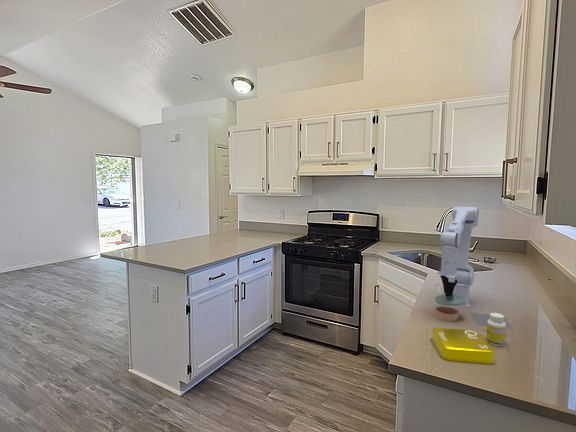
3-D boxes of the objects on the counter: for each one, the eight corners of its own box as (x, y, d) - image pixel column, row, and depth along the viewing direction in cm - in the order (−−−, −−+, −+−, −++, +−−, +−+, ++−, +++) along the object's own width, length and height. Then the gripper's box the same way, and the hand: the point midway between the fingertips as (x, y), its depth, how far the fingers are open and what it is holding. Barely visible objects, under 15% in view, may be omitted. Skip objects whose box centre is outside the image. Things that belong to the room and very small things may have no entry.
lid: (434, 296, 136) (432, 282, 136) (463, 296, 132) (462, 282, 132) (436, 305, 126) (435, 290, 125) (468, 306, 122) (466, 290, 121)
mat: (470, 314, 133) (470, 312, 133) (503, 317, 129) (503, 316, 129) (476, 325, 122) (476, 324, 122) (513, 330, 118) (513, 328, 118)
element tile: (430, 338, 113) (430, 325, 113) (476, 342, 110) (477, 328, 110) (442, 361, 98) (443, 346, 98) (496, 366, 96) (497, 350, 95)
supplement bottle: (487, 337, 113) (488, 310, 112) (506, 342, 109) (507, 314, 108) (484, 343, 108) (486, 315, 108) (504, 348, 105) (505, 319, 104)
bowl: (432, 311, 136) (432, 305, 135) (456, 314, 133) (456, 307, 132) (434, 320, 127) (435, 313, 127) (460, 323, 124) (460, 315, 124)
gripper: (436, 257, 136) (434, 288, 137) (440, 265, 122) (439, 299, 123) (454, 258, 134) (453, 290, 135) (461, 266, 120) (459, 301, 121)
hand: (447, 294), depth 129 cm, fingers closed on lid, 3 cm apart
